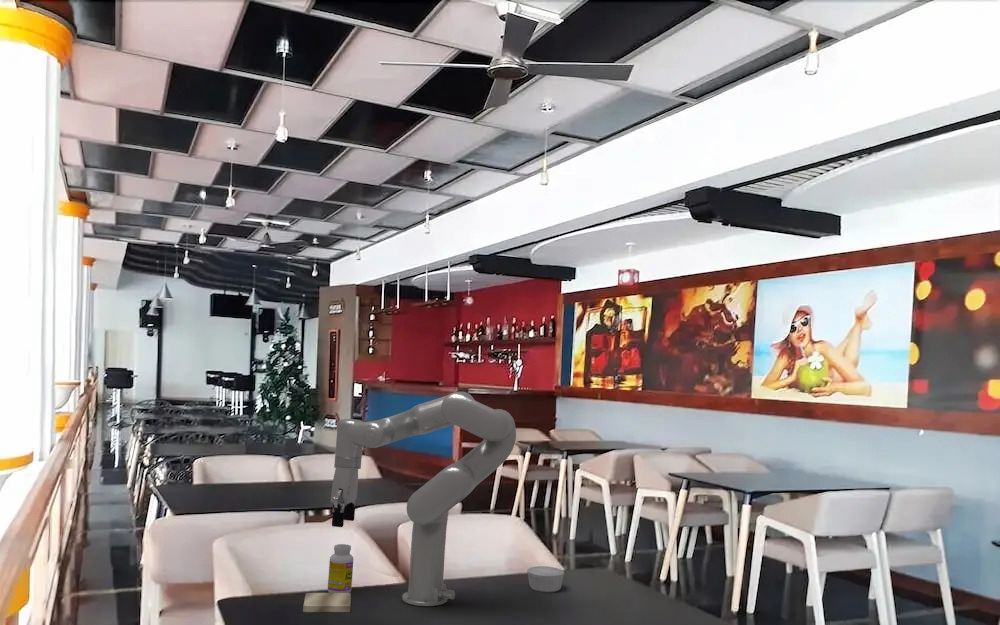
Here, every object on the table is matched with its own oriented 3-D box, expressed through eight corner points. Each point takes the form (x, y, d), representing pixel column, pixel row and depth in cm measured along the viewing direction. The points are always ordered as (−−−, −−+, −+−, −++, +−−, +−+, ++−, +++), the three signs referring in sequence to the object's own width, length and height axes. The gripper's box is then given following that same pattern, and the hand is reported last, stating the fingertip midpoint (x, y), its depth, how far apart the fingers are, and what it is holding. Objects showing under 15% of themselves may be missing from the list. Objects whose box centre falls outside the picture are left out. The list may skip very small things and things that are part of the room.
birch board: (350, 598, 219) (350, 593, 219) (350, 612, 208) (350, 606, 208) (305, 598, 217) (306, 592, 217) (302, 612, 205) (303, 606, 206)
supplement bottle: (345, 596, 221) (349, 549, 222) (323, 593, 222) (326, 547, 223) (354, 590, 228) (357, 544, 228) (333, 587, 229) (336, 542, 230)
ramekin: (524, 591, 237) (525, 573, 237) (528, 581, 248) (529, 564, 248) (561, 595, 235) (562, 577, 235) (564, 585, 246) (565, 568, 246)
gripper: (345, 458, 237) (340, 516, 235) (324, 465, 219) (319, 528, 218) (369, 460, 236) (364, 519, 234) (351, 467, 218) (346, 530, 217)
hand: (343, 523), depth 226 cm, fingers open, 9 cm apart
